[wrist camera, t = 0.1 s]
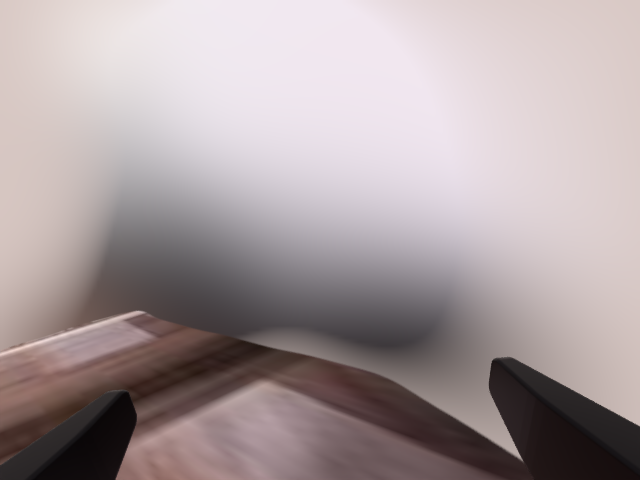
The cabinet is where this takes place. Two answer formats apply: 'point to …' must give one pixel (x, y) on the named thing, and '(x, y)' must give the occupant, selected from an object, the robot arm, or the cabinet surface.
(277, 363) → the cabinet surface
